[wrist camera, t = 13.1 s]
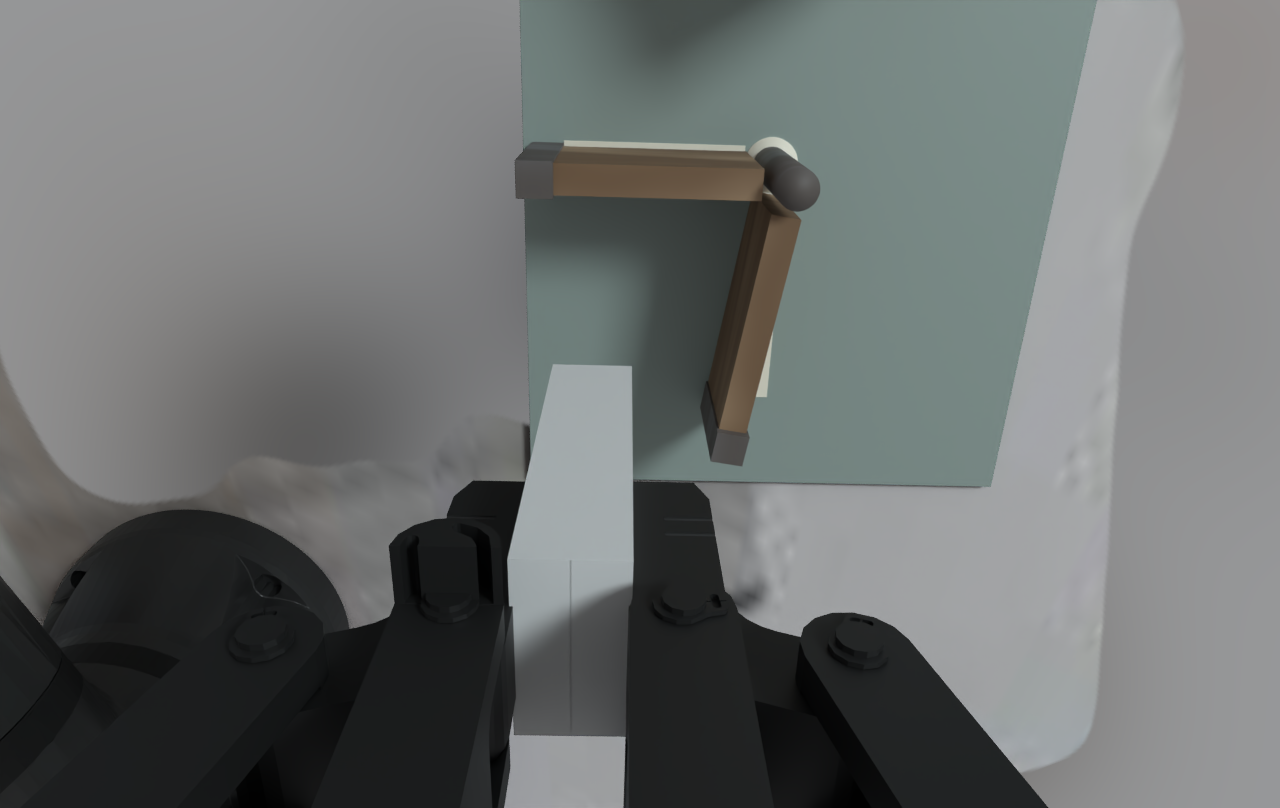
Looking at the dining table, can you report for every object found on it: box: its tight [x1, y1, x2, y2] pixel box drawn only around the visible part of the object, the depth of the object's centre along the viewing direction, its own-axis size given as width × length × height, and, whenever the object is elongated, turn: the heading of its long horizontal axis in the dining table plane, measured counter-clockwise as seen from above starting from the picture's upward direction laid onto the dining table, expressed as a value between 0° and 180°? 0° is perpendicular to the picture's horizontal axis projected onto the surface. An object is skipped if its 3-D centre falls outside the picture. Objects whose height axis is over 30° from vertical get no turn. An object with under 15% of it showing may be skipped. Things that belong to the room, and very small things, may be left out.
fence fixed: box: [515, 142, 820, 212], centre depth 35 cm, size 2×11×7 cm, turn 88°
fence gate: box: [700, 193, 802, 466], centre depth 37 cm, size 1×11×6 cm, turn 170°
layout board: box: [520, 0, 1097, 487], centre depth 40 cm, size 24×24×1 cm
